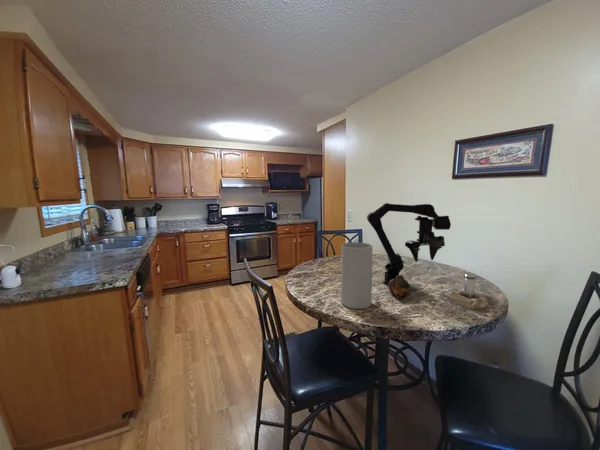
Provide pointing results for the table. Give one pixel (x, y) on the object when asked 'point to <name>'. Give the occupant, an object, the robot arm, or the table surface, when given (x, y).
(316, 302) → the table surface
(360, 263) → the cylinder vase
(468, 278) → the silver metal cylinder
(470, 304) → the socket block
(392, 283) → the decorative turtle
